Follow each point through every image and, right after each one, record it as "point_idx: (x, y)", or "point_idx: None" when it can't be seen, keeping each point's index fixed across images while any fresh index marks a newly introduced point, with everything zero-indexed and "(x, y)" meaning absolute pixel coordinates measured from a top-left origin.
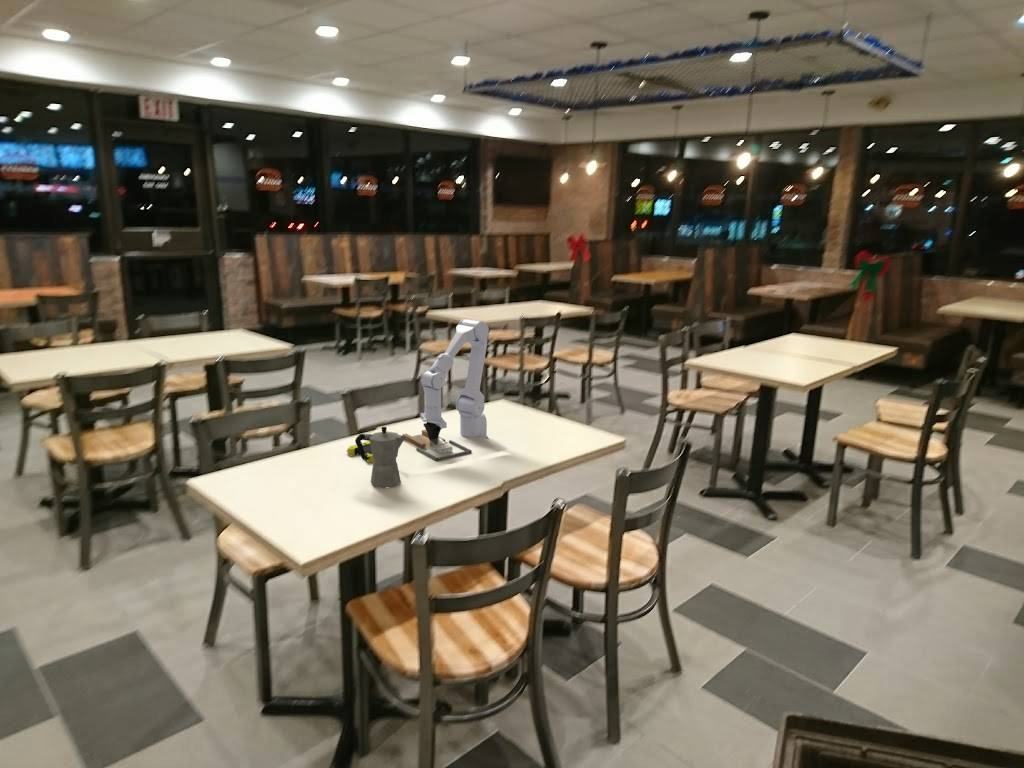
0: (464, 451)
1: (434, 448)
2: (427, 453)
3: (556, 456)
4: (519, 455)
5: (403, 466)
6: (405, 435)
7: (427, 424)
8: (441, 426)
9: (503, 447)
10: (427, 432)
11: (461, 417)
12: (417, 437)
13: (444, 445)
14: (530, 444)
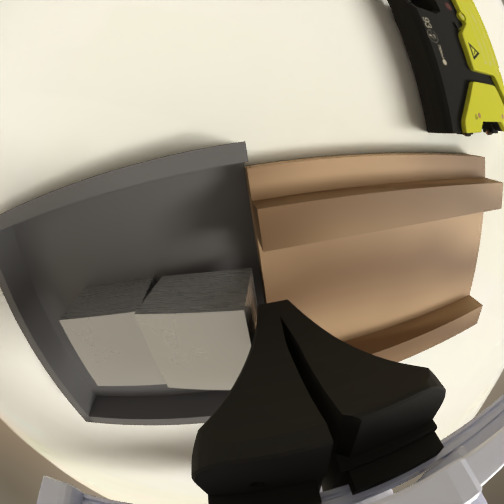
0: (71, 398)
1: (166, 290)
2: (58, 194)
3: (95, 485)
4: (104, 467)
5: (66, 22)
6: (487, 187)
7: (374, 435)
8: (38, 495)
9: (180, 474)
10: (337, 344)
11: (363, 502)
12: (457, 259)
13: (134, 364)
14: (184, 496)
